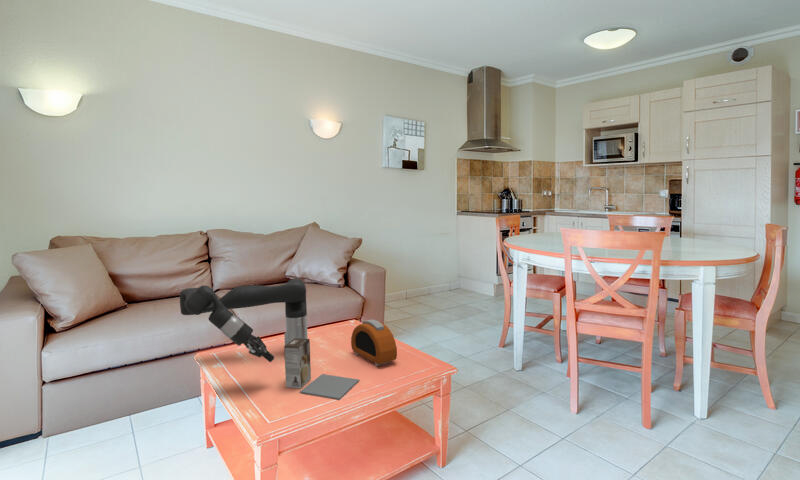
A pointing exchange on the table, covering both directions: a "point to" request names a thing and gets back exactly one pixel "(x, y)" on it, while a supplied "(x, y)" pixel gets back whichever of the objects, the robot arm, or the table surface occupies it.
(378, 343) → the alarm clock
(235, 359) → the table surface
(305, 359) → the coffee box
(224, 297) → the robot arm
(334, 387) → the mat
